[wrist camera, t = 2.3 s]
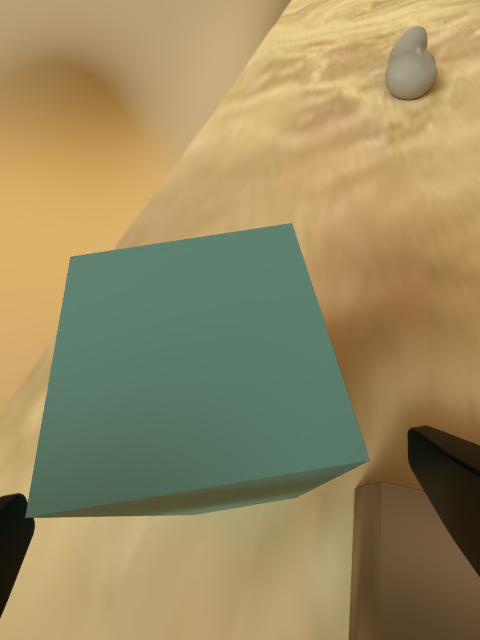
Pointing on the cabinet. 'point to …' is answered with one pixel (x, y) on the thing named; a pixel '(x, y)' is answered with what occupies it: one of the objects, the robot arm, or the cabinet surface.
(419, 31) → the pale two-lobed sculpture
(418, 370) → the cabinet surface
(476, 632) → the walnut base block
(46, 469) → the pillar block
